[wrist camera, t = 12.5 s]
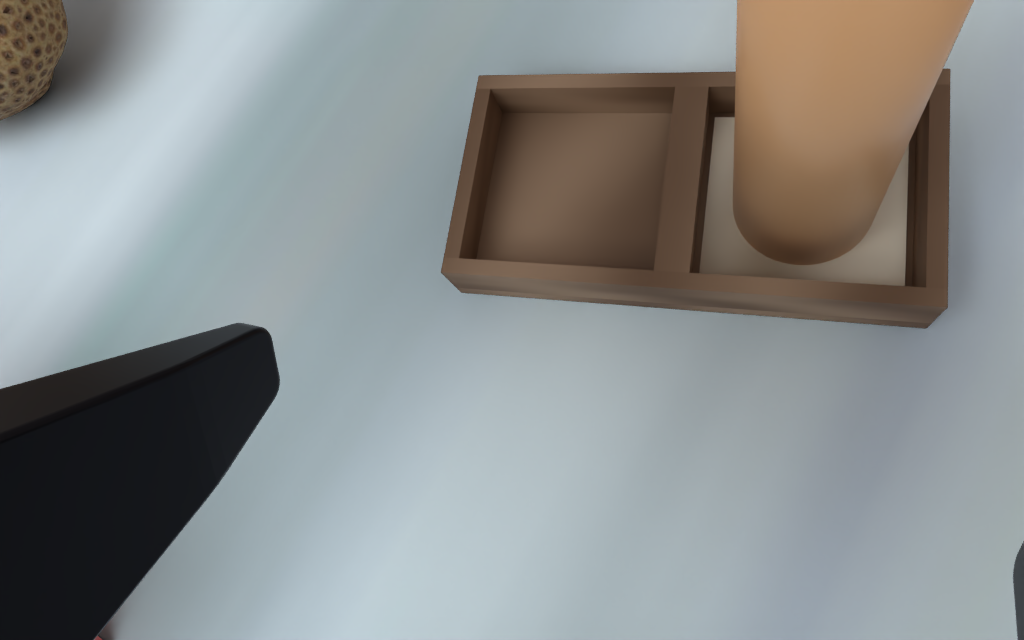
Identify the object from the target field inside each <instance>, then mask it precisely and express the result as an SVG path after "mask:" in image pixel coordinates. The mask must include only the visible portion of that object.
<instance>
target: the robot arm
mask: <svg viewBox="0 0 1024 640" xmlns="http://www.w3.org/2000/svg"><path fill="white" fill-rule="evenodd" d="M279 385H280V377H279V372H278V367H277V362H276V357H275V352H274V347H273V342H272V338H271V335H270V334H269V332H268V331H267V330H266V329H264V328H262V327H258V326H254V325H249V324H244V323H235V324H231V325H228V326H224V327H221V328H217V329H213V330H210V331H206V332H203V333H199V334H196V335H192V336H188V337H185V338H181V339H178V340H174V341H171V342H167V343H163V344H160V345H156V346H153V347H149V348H145V349H142V350H138V351H135V352H131V353H128V354H124V355H120V356H117V357H113V358H110V359H106V360H103V361H99V362H95V363H92V364H88V365H85V366H81V367H78V368H74V369H70V370H67V371H63V372H60V373H56V374H53V375H49V376H45V377H42V378H38V379H35V380H31V381H28V382H24V383H20V384H17V385H13V386H10V387H6V388H3V389H0V640H94V639H95V638H96V637H97V636H98V634H99V633H100V632H101V631H102V629H103V628H104V627H105V626H106V624H107V623H108V622H109V621H110V619H111V618H112V617H113V616H114V614H115V613H116V612H117V611H118V609H119V608H120V607H121V606H122V604H123V603H124V602H125V601H126V599H127V598H128V597H129V596H130V594H131V593H132V592H133V591H134V589H135V588H136V587H137V586H138V584H139V583H140V582H141V581H142V579H143V578H144V577H145V576H146V574H147V573H148V572H149V571H150V569H151V568H152V567H153V566H154V564H155V563H156V562H157V561H158V559H159V558H160V557H161V556H162V555H163V553H164V552H165V551H166V550H167V548H168V547H169V546H170V545H171V543H172V542H173V541H174V540H175V538H176V537H177V536H178V535H179V533H180V532H181V531H182V530H183V528H184V527H185V526H186V525H187V523H188V522H189V521H190V520H191V518H192V517H193V516H194V515H195V513H196V512H197V511H198V510H199V508H200V507H201V506H202V505H203V503H204V502H205V501H206V500H207V498H208V497H209V496H210V494H211V493H212V492H213V490H214V489H215V488H216V487H217V485H218V484H219V482H220V481H221V479H222V478H223V477H224V475H225V474H226V472H227V471H228V469H229V468H230V466H231V465H232V463H233V462H234V460H235V459H236V457H237V455H238V454H239V452H240V451H241V449H242V448H243V446H244V445H245V443H246V442H247V440H248V439H249V437H250V436H251V434H252V433H253V431H254V429H255V428H256V426H257V425H258V423H259V422H260V420H261V419H262V417H263V416H264V414H265V413H266V411H267V410H268V408H269V406H270V405H271V403H272V402H273V400H274V399H275V397H276V395H277V393H278V390H279ZM1013 583H1014V596H1015V610H1016V623H1017V636H1018V640H1024V542H1023V544H1022V546H1021V548H1020V550H1019V552H1018V554H1017V557H1016V560H1015V564H1014V572H1013Z"/></svg>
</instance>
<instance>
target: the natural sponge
mask: <svg viewBox="0 0 1024 640" xmlns="http://www.w3.org/2000/svg"><path fill="white" fill-rule="evenodd" d="M67 35H68V27H67V18H66V14H65V10H64V6H63V3H62V0H0V120H2V119H5V118H7V117H10V116H12V115H14V114H16V113H18V112H20V111H22V110H24V109H26V108H27V107H29V106H30V105H32V104H33V103H35V102H36V101H37V100H38V99H40V98H41V97H42V96H43V95H44V94H45V93H46V92H47V91H48V89H49V87H50V84H51V81H52V78H53V71H54V68H55V66H56V65H57V63H58V61H59V59H60V57H61V55H62V53H63V50H64V47H65V44H66V41H67Z"/></svg>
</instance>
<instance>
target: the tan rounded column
mask: <svg viewBox="0 0 1024 640" xmlns="http://www.w3.org/2000/svg"><path fill="white" fill-rule="evenodd" d="M973 2H974V0H737V36H736V80H735V125H734V169H733V214H734V219H735V222H736V225H737V227H738V229H739V231H740V233H741V234H742V236H743V237H744V239H745V240H746V241H747V242H748V243H749V244H750V245H751V246H752V247H753V248H754V249H756V250H757V251H758V252H760V253H761V254H763V255H765V256H766V257H768V258H771V259H773V260H775V261H779V262H782V263H786V264H792V265H814V264H820V263H824V262H827V261H831V260H833V259H836V258H838V257H840V256H842V255H844V254H845V253H847V252H849V251H850V250H851V249H853V248H854V247H855V246H856V245H857V244H858V243H859V242H860V241H861V240H862V239H863V238H864V236H865V235H866V234H867V232H868V230H869V229H870V227H871V225H872V223H873V220H874V218H875V216H876V214H877V212H878V210H879V207H880V205H881V203H882V201H883V199H884V196H885V194H886V192H887V190H888V188H889V185H890V183H891V181H892V179H893V177H894V175H895V172H896V170H897V168H898V166H899V164H900V161H901V159H902V157H903V155H904V153H905V150H906V148H907V146H908V144H909V142H910V139H911V137H912V135H913V133H914V131H915V129H916V126H917V124H918V122H919V120H920V118H921V115H922V113H923V111H924V109H925V107H926V104H927V102H928V100H929V98H930V96H931V93H932V91H933V89H934V87H935V85H936V83H937V80H938V78H939V76H940V74H941V72H942V69H943V67H944V65H945V63H946V61H947V58H948V56H949V54H950V52H951V50H952V48H953V45H954V43H955V41H956V39H957V37H958V34H959V32H960V30H961V28H962V26H963V23H964V21H965V19H966V17H967V15H968V12H969V10H970V8H971V6H972V4H973Z"/></svg>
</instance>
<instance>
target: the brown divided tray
mask: <svg viewBox="0 0 1024 640" xmlns="http://www.w3.org/2000/svg"><path fill="white" fill-rule="evenodd" d="M735 80H736V72H690V73H621V74H552V75H483V76H479V77H478V82H477V87H476V93H475V98H474V103H473V108H472V113H471V119H470V124H469V129H468V134H467V139H466V145H465V150H464V155H463V160H462V165H461V171H460V176H459V181H458V186H457V191H456V197H455V202H454V207H453V212H452V217H451V223H450V228H449V233H448V238H447V243H446V249H445V254H444V259H443V264H442V269H441V273H442V274H443V275H444V276H445V277H446V278H447V279H448V280H449V281H450V282H451V283H452V284H453V285H454V286H455V287H456V288H457V289H458V290H459V291H460V292H461V293H473V294H486V295H499V296H512V297H525V298H538V299H551V300H564V301H577V302H590V303H603V304H616V305H629V306H642V307H655V308H668V309H681V310H694V311H707V312H720V313H733V314H746V315H759V316H772V317H785V318H798V319H811V320H824V321H837V322H850V323H863V324H876V325H889V326H902V327H915V328H927V327H928V326H929V325H930V324H931V323H932V322H933V321H934V320H935V319H936V318H937V317H938V316H939V315H940V314H941V313H942V312H943V311H944V310H945V309H946V308H947V307H948V223H949V137H950V69H942V72H941V74H940V76H939V78H938V80H937V83H936V85H935V87H934V89H933V91H932V93H931V96H930V98H929V100H928V102H927V104H926V107H925V109H924V111H923V113H922V115H921V118H920V120H919V122H918V124H917V126H916V129H915V131H914V133H913V135H912V137H911V139H910V142H909V144H908V146H907V148H906V150H905V153H904V155H903V157H902V159H901V161H900V164H899V166H898V168H897V170H896V172H895V175H894V177H893V179H892V181H891V183H890V185H889V188H888V190H887V192H886V194H885V196H884V199H883V201H882V203H881V205H880V207H879V210H878V212H877V214H876V216H875V218H874V220H873V223H872V225H871V227H870V229H869V230H868V232H867V234H866V235H865V236H864V238H863V239H862V240H861V241H860V242H859V243H858V244H857V245H856V246H855V247H854V248H853V249H851V250H850V251H849V252H847V253H845V254H844V255H842V256H840V257H838V258H836V259H833V260H831V261H827V262H824V263H820V264H814V265H792V264H786V263H782V262H779V261H775V260H773V259H771V258H768V257H766V256H765V255H763V254H761V253H760V252H758V251H757V250H756V249H754V248H753V247H752V246H751V245H750V244H749V243H748V242H747V241H746V240H745V239H744V237H743V236H742V234H741V233H740V231H739V229H738V227H737V225H736V222H735V219H734V214H733V169H734V125H735Z"/></svg>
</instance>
